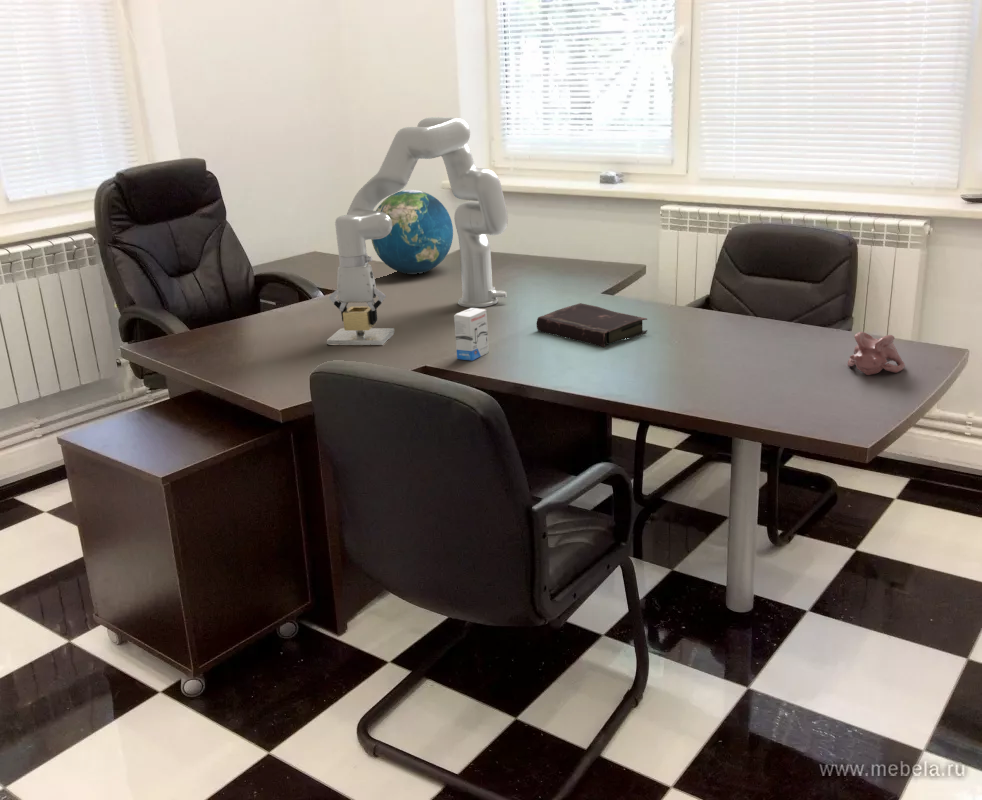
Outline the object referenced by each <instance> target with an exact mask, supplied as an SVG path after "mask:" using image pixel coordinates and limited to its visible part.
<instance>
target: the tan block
mask: <svg viewBox="0 0 982 800" xmlns="http://www.w3.org/2000/svg"><path fill="white" fill-rule="evenodd" d="M370 311H371V309H370V307H369V306H368V305H367V306H365V305H362V306H361V305H359V306H358V305H357V306H356V305H355V306H349V307H347V310H346V311H344V312H343V321H344V322H343V321H342V322H343V328H344V329H345V330H370V329H371V328H373V327H374V326H375V325H376V324H377V322H376V323H375V324H374V325H371V323H370V314H369V312H370Z"/></svg>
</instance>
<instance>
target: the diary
mask: <svg viewBox="0 0 982 800" xmlns="http://www.w3.org/2000/svg"><path fill="white" fill-rule="evenodd" d="M536 320H537V321H536V322H535V323H536V324H535V325H536V330H537V331H538V332H540V331H541V333H545V332H546V333H545V334H549V333H550V334H549V335H553V334H554V336H557V335H558V336H557V337H561V336H562V338H565V337H566V339H569V338H570V340H573V339H574V340H573V341H577V340H578V342H581V341H582V342H581V343H585V342H586V343H587V344H589V343H590V345H594V346H598V347H602V348H606V346H609V345H610V344H613V343H616V342H617V343H618V342H619V341H623V340H622V339H625V338H626V339H627V338H630V339H632V338H636V337H639V336H642V335H644V334H646V333H647V332H648V329H645V330H644V329H643V325H644V322H643V321H648V318H646V317H641V316H637V315H632V314H629V313H628V314H627V313H623V312H617V311H614V310H610V309H606V308H604V307H600V306H596V305H592V304H587V303H582V302H581V303H580V302H579V303H577V304H573V305H570V306H569V305H568V306H565V307H562V308H560V309H556V310H554V311H551V312H549V313H547V314H544V315H541V316H538V317H537V319H536ZM627 340H628V339H627ZM586 343H585V344H586Z"/></svg>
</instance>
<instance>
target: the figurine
mask: <svg viewBox="0 0 982 800" xmlns="http://www.w3.org/2000/svg"><path fill="white" fill-rule="evenodd" d="M853 337H854V339H855V342H856V343H857V344H856V345H855V346H854V349H853V354H852V355H849V360H848V361H847V366H848V367H854V366H855V367H856V369H857V370H859V371H860V372H861V373H863V374H864V375H867V376H871V375H876V374H879V373H880V372H882V370H883V369H884V370H885V371H888V372H891V373H895V374H896V373H900V372H902V371H903V370H904V368H905V367H906V364H905V362H904V361H903V360H902V357H901V356H900V354H899V352H898V350H897V348H896V346H895V344H894V340H895V336H894V335H893V334H888V335H887V334H886V335H885V336H882V337H880V338H874V337H873V336H872V335H870V334H868V333H866V332H864V331H858V332H856V334H854V335H853ZM892 361H893V362H895V363H896V364H895V365H894V364H892V363H890V362H892Z"/></svg>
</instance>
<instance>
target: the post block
mask: <svg viewBox="0 0 982 800" xmlns="http://www.w3.org/2000/svg"><path fill="white" fill-rule="evenodd" d="M394 334H395V328H394V327H393V328H392V327H390V328H389V327H387V328H386V327H382V328H379V327H375V328H373V327H372V328H371V329H370V330H345V329H344V327H343V328H339V329H338V330H337V331H336V332H334V333H333V334H332V335H331V336H330V337H329V338H327V340H326V345H327V344H340V345H370V344H371V345H383V344H384V343H385V342H386V341H387V340H388V339H391V338H392V336H393V335H394ZM387 342H388V341H387ZM387 342H386V343H387ZM386 343H385V344H386ZM385 344H384V345H385ZM384 345H383V346H384Z"/></svg>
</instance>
